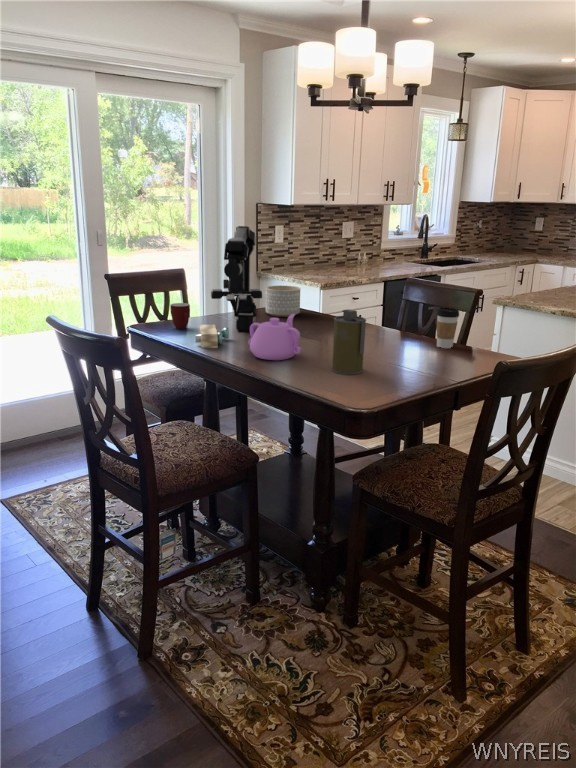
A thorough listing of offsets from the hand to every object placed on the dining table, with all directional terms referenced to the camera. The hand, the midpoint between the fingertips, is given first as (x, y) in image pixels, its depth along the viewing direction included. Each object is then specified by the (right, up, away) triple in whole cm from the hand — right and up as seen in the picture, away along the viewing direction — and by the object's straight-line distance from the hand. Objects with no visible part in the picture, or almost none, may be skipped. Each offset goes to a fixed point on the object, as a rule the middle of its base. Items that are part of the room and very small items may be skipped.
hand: (236, 316), depth 227 cm
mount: (-11, -9, +5) cm, 16 cm away
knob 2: (-8, -8, +9) cm, 14 cm away
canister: (+39, -21, -27) cm, 52 cm away
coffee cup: (+80, -11, +7) cm, 81 cm away
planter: (+17, +8, +63) cm, 65 cm away
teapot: (+16, -15, -10) cm, 24 cm away
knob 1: (-11, -10, +1) cm, 15 cm away
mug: (-25, -2, +28) cm, 38 cm away
